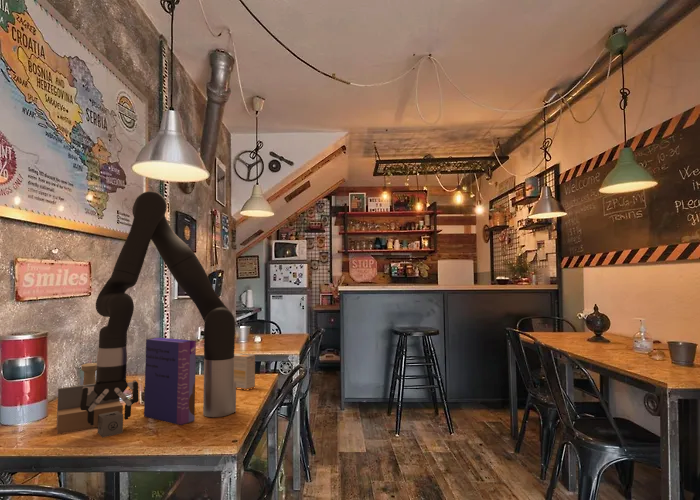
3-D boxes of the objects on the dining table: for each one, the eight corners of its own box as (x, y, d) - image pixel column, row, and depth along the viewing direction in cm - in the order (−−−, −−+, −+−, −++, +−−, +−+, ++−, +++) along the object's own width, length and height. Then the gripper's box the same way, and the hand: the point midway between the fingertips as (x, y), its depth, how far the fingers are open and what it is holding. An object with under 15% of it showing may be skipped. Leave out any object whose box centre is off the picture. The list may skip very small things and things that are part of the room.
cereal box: (194, 421, 129) (195, 340, 131) (181, 425, 125) (182, 342, 127) (157, 412, 138) (159, 336, 140) (144, 416, 134) (146, 338, 136)
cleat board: (118, 416, 134) (119, 380, 135) (122, 422, 128) (123, 384, 129) (56, 427, 125) (58, 388, 126) (57, 433, 119) (59, 393, 120)
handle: (78, 415, 136) (80, 366, 137) (81, 410, 142) (82, 363, 143) (96, 413, 138) (97, 365, 139) (98, 408, 144) (99, 362, 145)
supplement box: (255, 388, 169) (255, 354, 170) (246, 391, 164) (246, 356, 166) (240, 385, 173) (240, 352, 174) (231, 388, 169) (231, 354, 170)
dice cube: (122, 433, 119) (123, 414, 120) (102, 437, 116) (103, 418, 116) (117, 428, 123) (117, 410, 123) (97, 433, 120) (98, 414, 120)
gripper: (137, 358, 130) (134, 414, 128) (81, 363, 121) (78, 422, 120) (141, 362, 123) (139, 420, 122) (83, 367, 115) (80, 430, 114)
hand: (109, 421), depth 121 cm, fingers open, 8 cm apart
